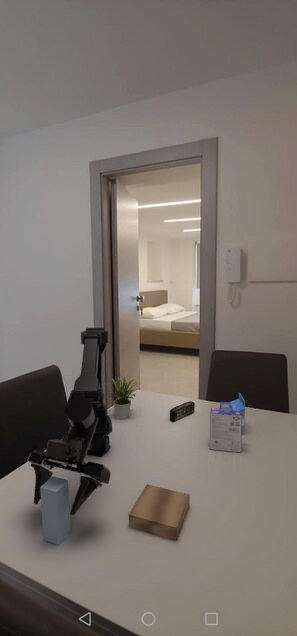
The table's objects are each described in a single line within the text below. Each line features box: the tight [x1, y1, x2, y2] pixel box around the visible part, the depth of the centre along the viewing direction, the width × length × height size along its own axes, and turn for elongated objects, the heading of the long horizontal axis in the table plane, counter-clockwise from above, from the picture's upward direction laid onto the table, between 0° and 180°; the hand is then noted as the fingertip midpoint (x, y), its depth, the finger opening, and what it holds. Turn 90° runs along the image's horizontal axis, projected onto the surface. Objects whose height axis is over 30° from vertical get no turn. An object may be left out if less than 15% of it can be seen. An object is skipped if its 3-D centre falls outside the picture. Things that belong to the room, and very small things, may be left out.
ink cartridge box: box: [209, 401, 242, 453], centre depth 103 cm, size 10×6×14 cm, turn 78°
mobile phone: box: [169, 400, 196, 423], centre depth 127 cm, size 5×3×15 cm
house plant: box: [106, 376, 141, 420], centre depth 126 cm, size 14×14×16 cm
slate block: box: [40, 475, 71, 546], centre depth 68 cm, size 4×4×12 cm
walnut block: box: [128, 483, 191, 542], centre depth 74 cm, size 11×11×4 cm
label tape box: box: [228, 392, 246, 436], centre depth 115 cm, size 9×4×12 cm, turn 178°
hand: (53, 509), depth 67 cm, fingers open, 9 cm apart
